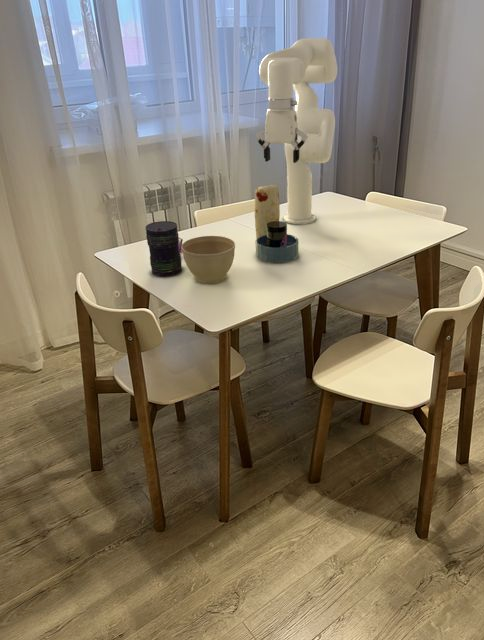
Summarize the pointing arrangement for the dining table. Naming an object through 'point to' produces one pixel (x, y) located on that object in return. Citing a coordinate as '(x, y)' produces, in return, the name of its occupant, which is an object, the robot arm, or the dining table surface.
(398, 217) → the dining table surface
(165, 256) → the storage jar
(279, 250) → the basin
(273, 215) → the food model
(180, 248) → the pink toy figurine
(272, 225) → the supplement container
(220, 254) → the planter bowl
